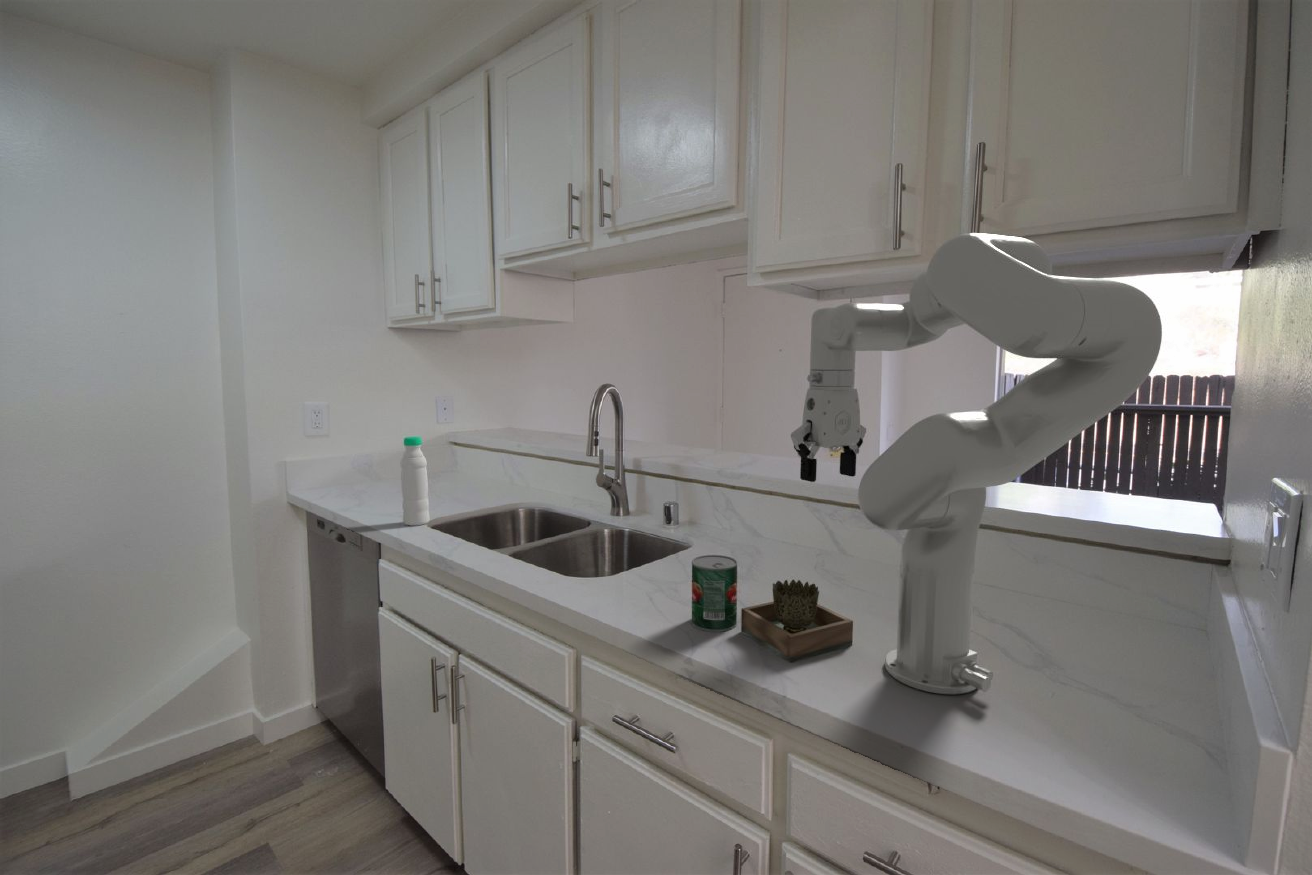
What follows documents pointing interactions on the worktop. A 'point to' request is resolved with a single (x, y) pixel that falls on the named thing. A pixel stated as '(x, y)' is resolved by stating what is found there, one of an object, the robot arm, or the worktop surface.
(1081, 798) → the worktop surface
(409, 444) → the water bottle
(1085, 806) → the worktop surface
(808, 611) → the olive textured bell shape
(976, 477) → the robot arm
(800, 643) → the walnut box
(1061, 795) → the worktop surface
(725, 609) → the canned tomato
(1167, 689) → the worktop surface
